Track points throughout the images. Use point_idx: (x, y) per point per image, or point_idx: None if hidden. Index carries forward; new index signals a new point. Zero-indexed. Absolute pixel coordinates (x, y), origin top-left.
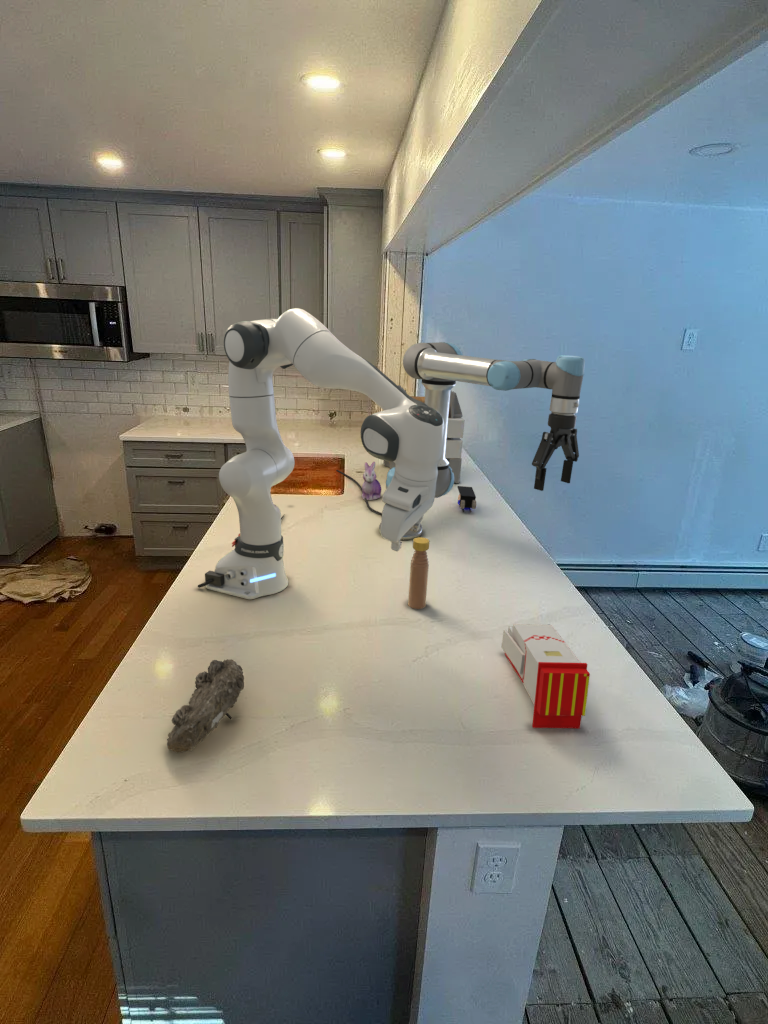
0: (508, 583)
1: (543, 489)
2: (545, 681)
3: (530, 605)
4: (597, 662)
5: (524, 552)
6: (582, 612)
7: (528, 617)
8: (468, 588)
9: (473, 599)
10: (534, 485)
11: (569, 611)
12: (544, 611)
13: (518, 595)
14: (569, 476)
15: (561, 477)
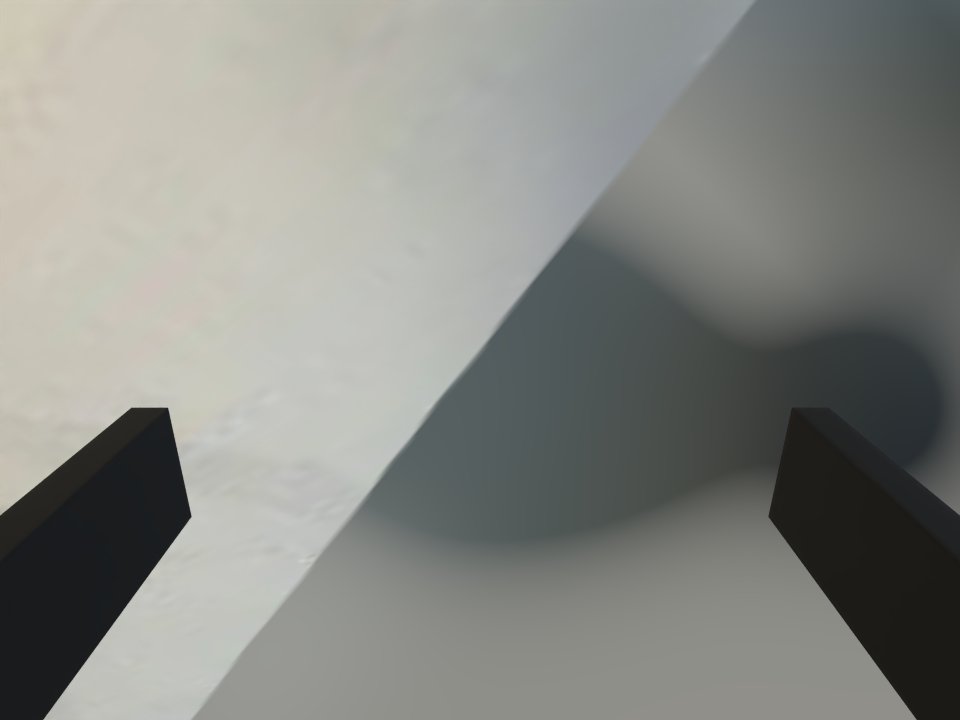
0: (263, 218)
1: (182, 526)
2: None
3: (205, 387)
4: (143, 653)
5: (637, 21)
6: (335, 512)
7: None
8: (55, 137)
9: (17, 223)
10: (105, 433)
11: (300, 486)
12: (219, 439)
13: (221, 313)
14: (819, 582)
15: (820, 440)
